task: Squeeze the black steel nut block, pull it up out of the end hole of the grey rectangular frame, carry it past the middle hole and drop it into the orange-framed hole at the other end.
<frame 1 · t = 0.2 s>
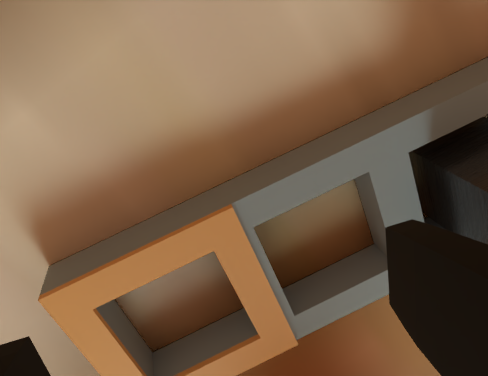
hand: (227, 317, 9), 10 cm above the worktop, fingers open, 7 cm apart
nut block: (442, 162, 21), resting in grey rectangular frame
grey rectangular frame: (312, 226, 20), on the worktop
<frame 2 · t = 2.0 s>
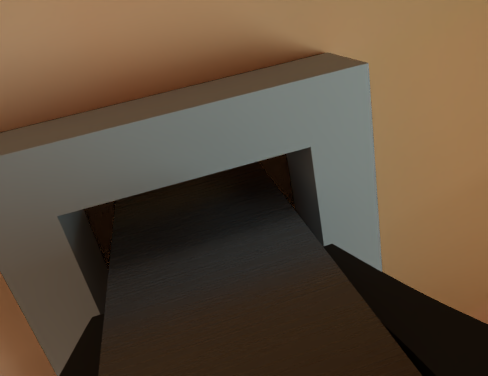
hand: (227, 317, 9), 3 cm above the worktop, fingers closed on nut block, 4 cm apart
nut block: (204, 238, 11), resting in grey rectangular frame, touching gripper
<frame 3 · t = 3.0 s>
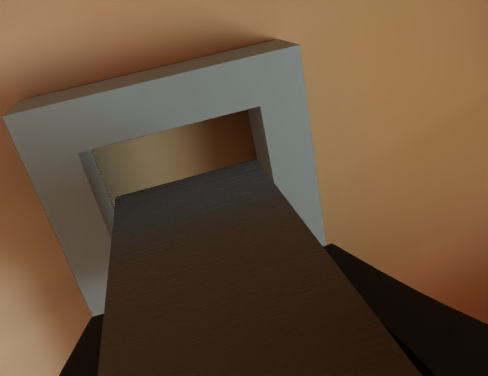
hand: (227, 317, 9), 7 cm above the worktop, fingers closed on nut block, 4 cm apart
nut block: (203, 237, 12), point 4 cm above the worktop, touching gripper
grey rectangular frame: (228, 333, 18), on the worktop
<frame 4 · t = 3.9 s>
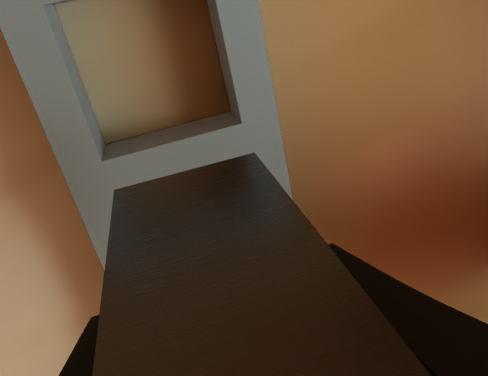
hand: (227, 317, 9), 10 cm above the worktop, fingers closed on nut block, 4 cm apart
nut block: (202, 231, 11), point 7 cm above the worktop, touching gripper
grey rectangular frame: (196, 220, 19), on the worktop
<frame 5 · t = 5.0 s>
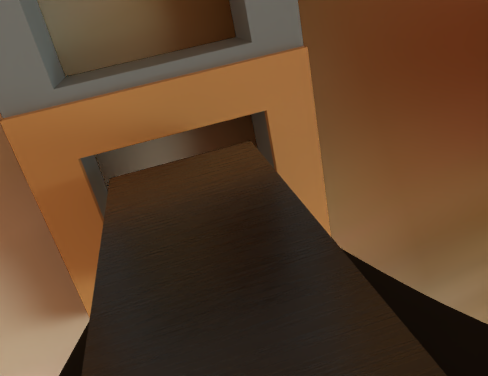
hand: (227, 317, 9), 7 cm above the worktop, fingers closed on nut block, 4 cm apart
nut block: (198, 220, 11), point 3 cm above the worktop, touching gripper
when the fingers open (4 cm above the worktop, at t = 5.9 s): nut block stays where it is, resting in grey rectangular frame.
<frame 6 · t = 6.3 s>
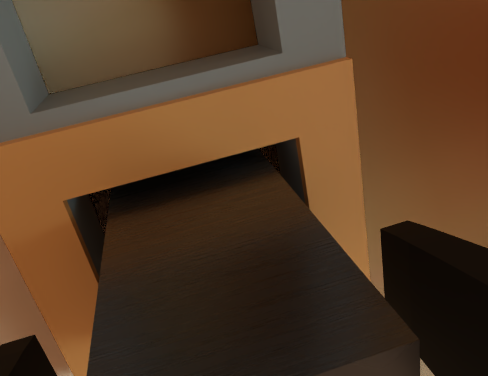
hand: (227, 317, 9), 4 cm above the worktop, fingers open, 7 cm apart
nut block: (196, 208, 12), resting in grey rectangular frame
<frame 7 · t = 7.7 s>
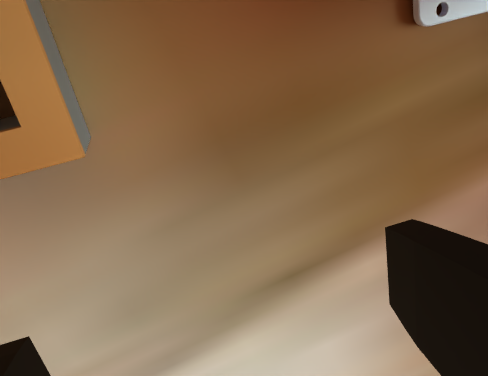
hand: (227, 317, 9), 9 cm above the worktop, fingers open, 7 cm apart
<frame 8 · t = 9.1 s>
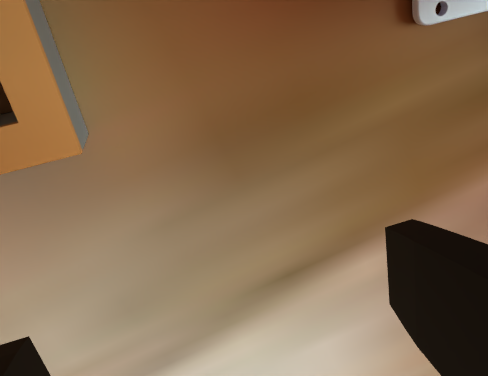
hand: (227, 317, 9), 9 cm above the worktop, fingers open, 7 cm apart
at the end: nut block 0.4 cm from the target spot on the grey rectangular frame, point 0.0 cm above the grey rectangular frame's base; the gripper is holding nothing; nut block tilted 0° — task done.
